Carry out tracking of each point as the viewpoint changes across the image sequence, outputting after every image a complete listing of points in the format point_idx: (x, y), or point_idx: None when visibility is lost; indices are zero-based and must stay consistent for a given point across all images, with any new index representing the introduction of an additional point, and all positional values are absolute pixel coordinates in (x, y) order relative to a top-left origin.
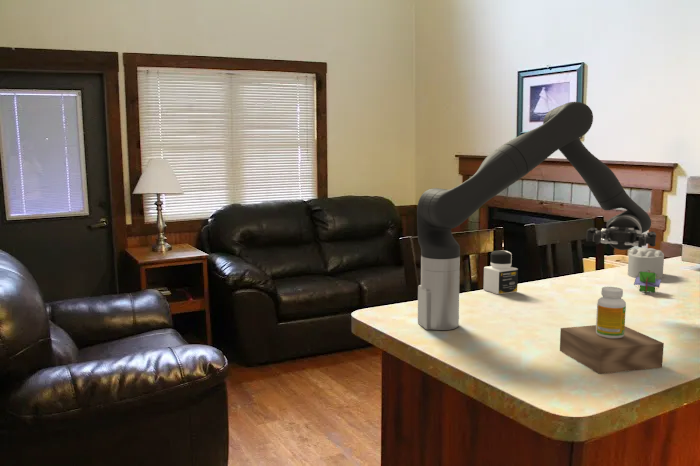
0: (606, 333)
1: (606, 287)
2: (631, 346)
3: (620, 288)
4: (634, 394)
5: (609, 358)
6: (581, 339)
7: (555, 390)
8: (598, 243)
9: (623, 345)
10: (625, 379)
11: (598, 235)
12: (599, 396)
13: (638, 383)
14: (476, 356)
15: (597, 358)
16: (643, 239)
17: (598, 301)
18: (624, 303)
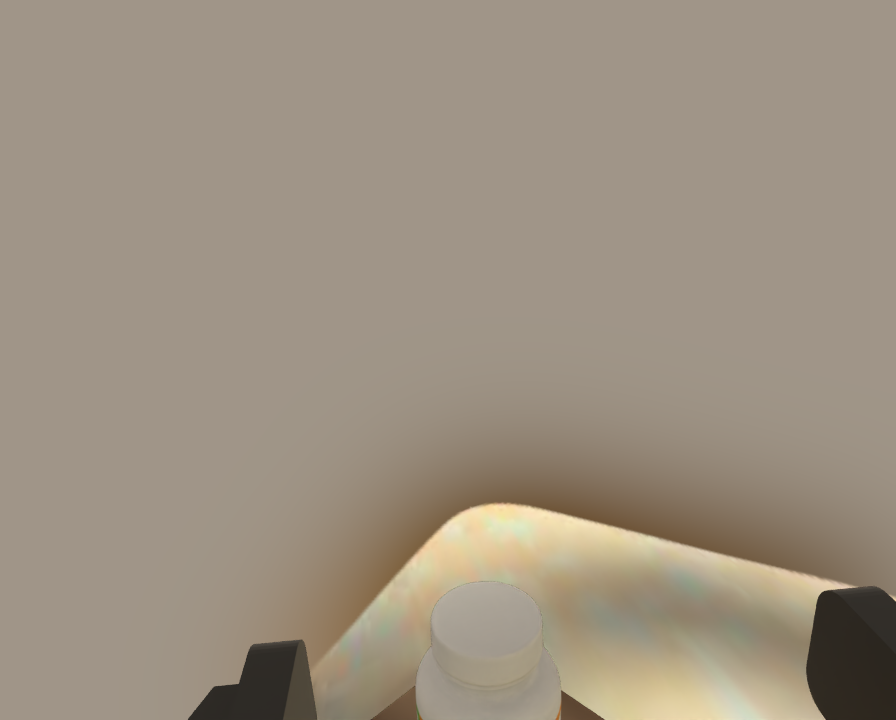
0: None
1: (522, 628)
2: (385, 709)
3: (447, 641)
4: (373, 624)
5: None
6: (576, 702)
7: (546, 571)
8: (814, 687)
9: (414, 704)
10: None
11: (831, 591)
12: (449, 584)
13: (362, 693)
14: None
15: None
16: (236, 687)
17: (546, 650)
18: (420, 663)
